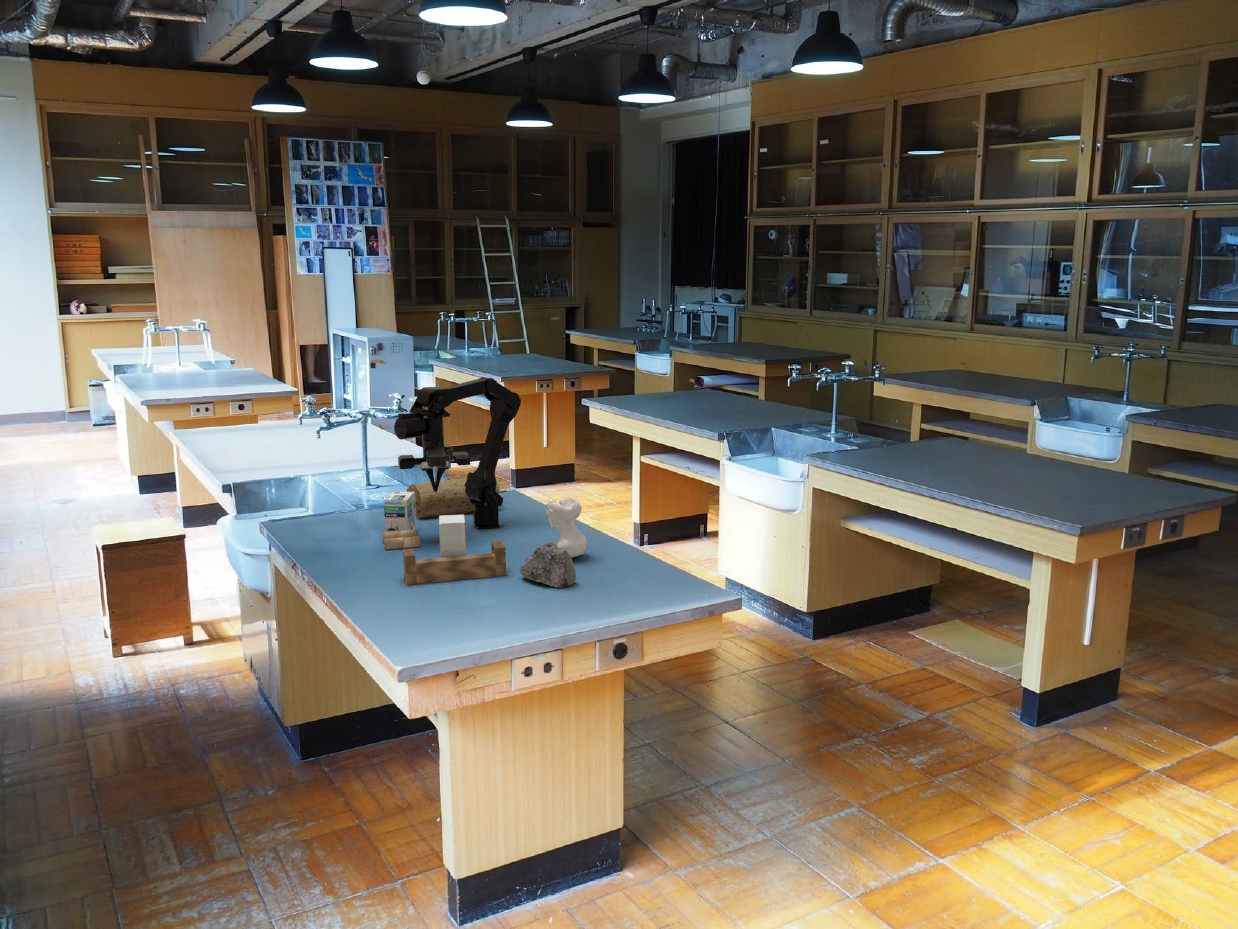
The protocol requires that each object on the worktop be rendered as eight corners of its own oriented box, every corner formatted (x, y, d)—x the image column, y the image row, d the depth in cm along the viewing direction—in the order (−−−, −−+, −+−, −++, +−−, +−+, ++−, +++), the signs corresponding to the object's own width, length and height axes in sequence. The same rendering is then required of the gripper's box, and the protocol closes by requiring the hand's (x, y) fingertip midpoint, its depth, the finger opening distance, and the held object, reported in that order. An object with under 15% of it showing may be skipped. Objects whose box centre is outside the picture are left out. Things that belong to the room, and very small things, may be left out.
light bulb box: (409, 538, 282) (407, 500, 280) (384, 538, 282) (382, 500, 280) (417, 528, 293) (415, 491, 290) (393, 528, 293) (391, 491, 291)
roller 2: (419, 549, 275) (418, 539, 277) (420, 544, 273) (419, 533, 274) (385, 552, 273) (384, 542, 274) (385, 546, 270) (384, 536, 272)
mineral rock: (517, 577, 249) (516, 537, 247) (558, 571, 254) (557, 531, 252) (538, 593, 238) (537, 551, 235) (580, 586, 242) (580, 544, 240)
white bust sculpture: (569, 565, 257) (568, 507, 254) (536, 557, 264) (534, 500, 261) (594, 556, 265) (593, 499, 262) (560, 549, 272) (559, 493, 268)
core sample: (404, 511, 311) (403, 479, 309) (488, 501, 323) (487, 470, 321) (418, 522, 299) (416, 489, 297) (504, 511, 311) (503, 479, 309)
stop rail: (501, 568, 256) (500, 540, 254) (506, 575, 250) (505, 547, 249) (404, 577, 249) (402, 549, 248) (406, 584, 244) (405, 556, 242)
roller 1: (417, 535, 279) (417, 542, 281) (416, 527, 281) (416, 533, 283) (383, 538, 277) (383, 545, 279) (382, 529, 278) (382, 536, 281)
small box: (467, 574, 251) (465, 522, 249) (440, 575, 250) (438, 523, 248) (466, 564, 259) (464, 513, 256) (440, 565, 258) (438, 515, 255)
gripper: (400, 441, 266) (403, 500, 270) (472, 437, 272) (474, 495, 275) (396, 434, 277) (399, 491, 280) (466, 430, 282) (468, 486, 285)
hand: (435, 491), depth 280 cm, fingers closed
